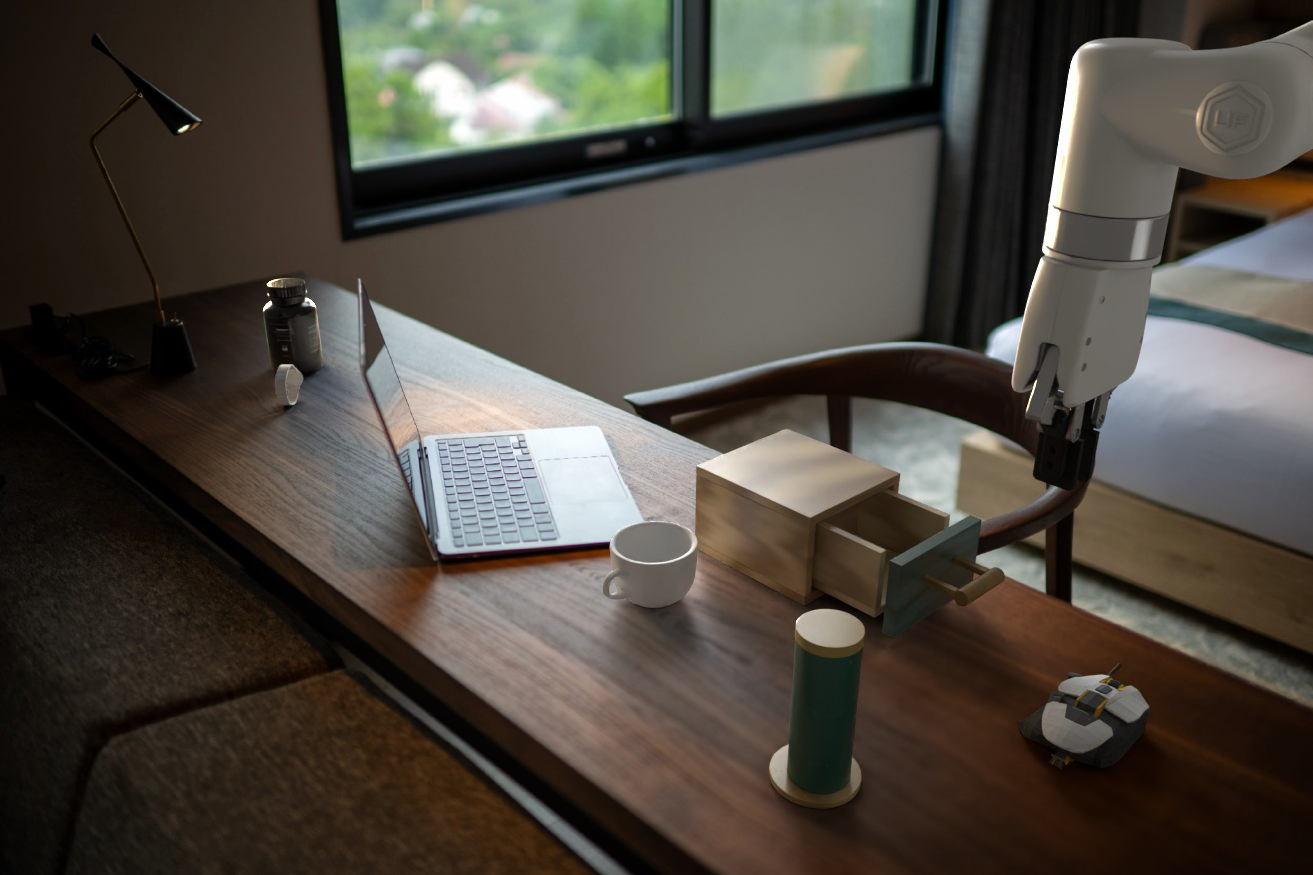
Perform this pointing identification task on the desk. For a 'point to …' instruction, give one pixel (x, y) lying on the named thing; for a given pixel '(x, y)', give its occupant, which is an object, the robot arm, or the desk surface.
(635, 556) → the teacup
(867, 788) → the desk surface
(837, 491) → the cabinet
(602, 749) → the desk surface
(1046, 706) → the computer mouse
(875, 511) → the drawer
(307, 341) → the supplement bottle
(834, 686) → the tin
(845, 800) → the coaster
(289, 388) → the white thick rounded piece
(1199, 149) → the robot arm
